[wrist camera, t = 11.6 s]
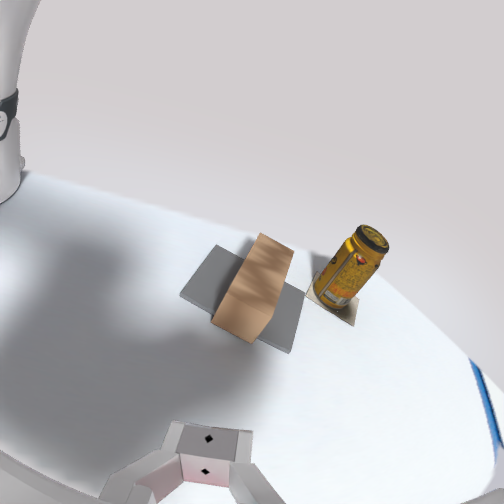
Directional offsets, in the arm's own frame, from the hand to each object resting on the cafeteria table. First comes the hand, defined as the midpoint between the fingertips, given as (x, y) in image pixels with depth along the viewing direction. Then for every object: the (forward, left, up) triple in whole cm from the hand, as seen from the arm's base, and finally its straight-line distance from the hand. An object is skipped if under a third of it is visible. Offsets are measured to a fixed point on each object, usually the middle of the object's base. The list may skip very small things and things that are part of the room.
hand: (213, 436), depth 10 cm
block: (0, +17, -12) cm, 21 cm away
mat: (0, +24, -15) cm, 29 cm away
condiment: (+12, +33, -16) cm, 38 cm away
